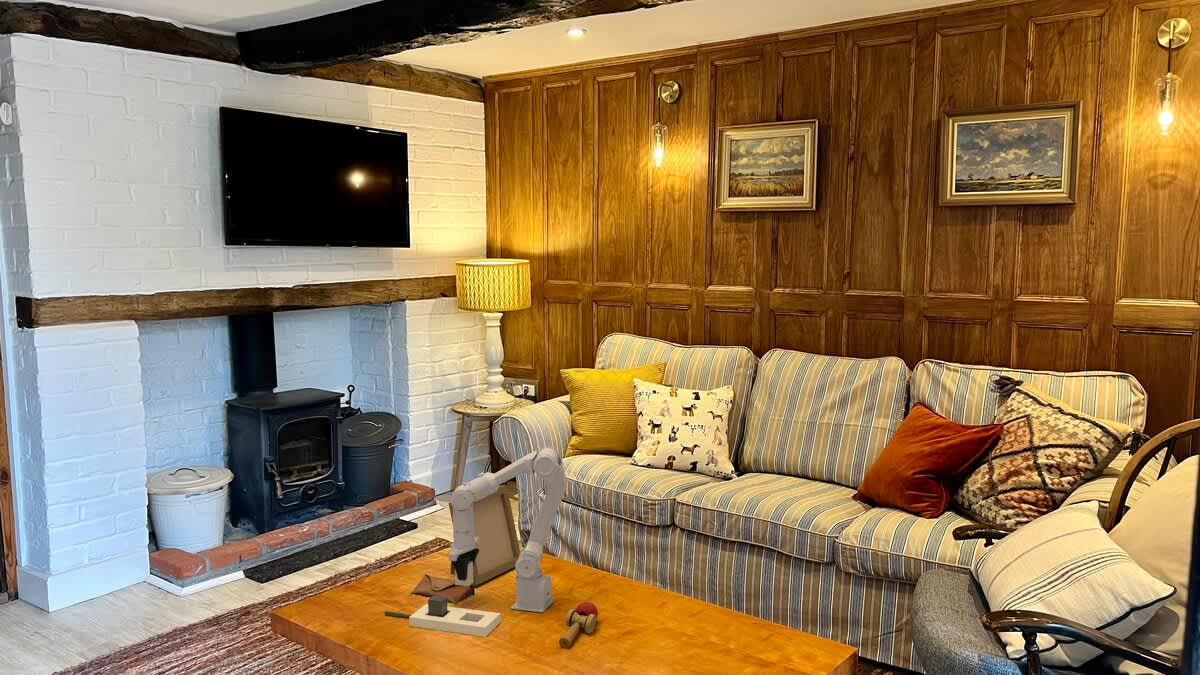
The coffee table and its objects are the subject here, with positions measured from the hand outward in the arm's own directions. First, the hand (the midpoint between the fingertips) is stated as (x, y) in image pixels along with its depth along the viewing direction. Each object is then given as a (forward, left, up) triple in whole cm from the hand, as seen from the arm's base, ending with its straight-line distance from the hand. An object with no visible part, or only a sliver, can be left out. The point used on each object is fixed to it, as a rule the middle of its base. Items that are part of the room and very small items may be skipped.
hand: (465, 577), depth 242 cm
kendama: (-36, +8, -8) cm, 38 cm away
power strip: (+2, +12, -8) cm, 15 cm away
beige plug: (0, 0, -2) cm, 2 cm away
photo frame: (+7, -24, -8) cm, 26 cm away
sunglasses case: (+10, -5, -9) cm, 15 cm away
